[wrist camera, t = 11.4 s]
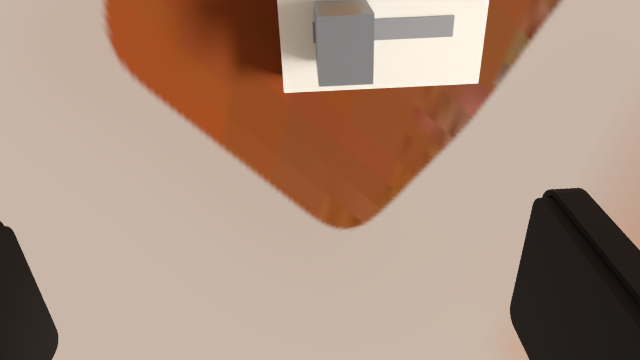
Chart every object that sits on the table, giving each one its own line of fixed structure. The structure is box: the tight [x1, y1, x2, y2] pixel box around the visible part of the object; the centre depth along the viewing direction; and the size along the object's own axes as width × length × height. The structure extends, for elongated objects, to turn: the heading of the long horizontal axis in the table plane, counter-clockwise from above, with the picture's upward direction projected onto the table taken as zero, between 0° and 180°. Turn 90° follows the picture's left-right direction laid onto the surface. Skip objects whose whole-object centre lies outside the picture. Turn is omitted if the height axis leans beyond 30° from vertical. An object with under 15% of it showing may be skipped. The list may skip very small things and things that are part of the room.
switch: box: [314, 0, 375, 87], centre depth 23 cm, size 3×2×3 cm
